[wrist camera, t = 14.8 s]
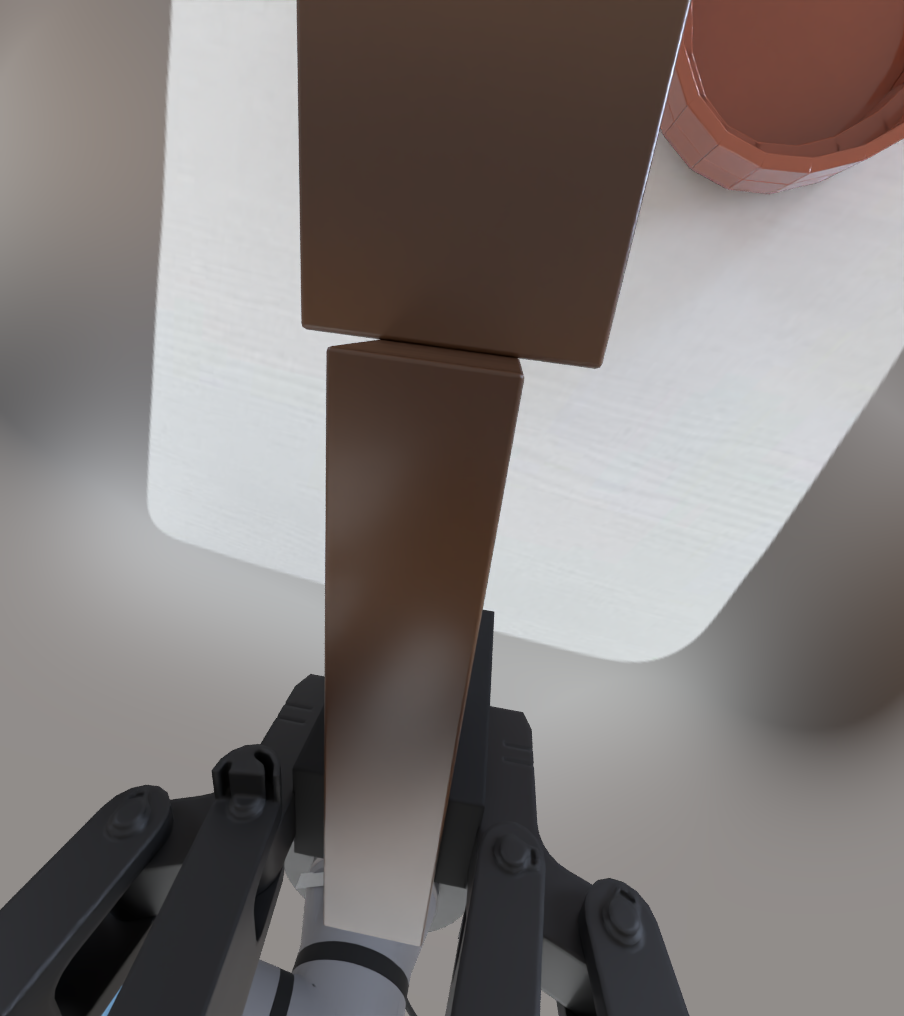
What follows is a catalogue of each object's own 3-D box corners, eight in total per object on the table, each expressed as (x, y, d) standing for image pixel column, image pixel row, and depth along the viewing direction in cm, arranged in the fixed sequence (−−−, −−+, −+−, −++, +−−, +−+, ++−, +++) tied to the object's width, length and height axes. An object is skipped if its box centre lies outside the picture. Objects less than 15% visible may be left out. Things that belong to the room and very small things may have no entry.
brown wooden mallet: (493, 627, 21) (477, 960, 10) (392, 609, 22) (269, 914, 11) (581, 178, 14) (848, -352, 3) (429, 161, 14) (160, -378, 3)
